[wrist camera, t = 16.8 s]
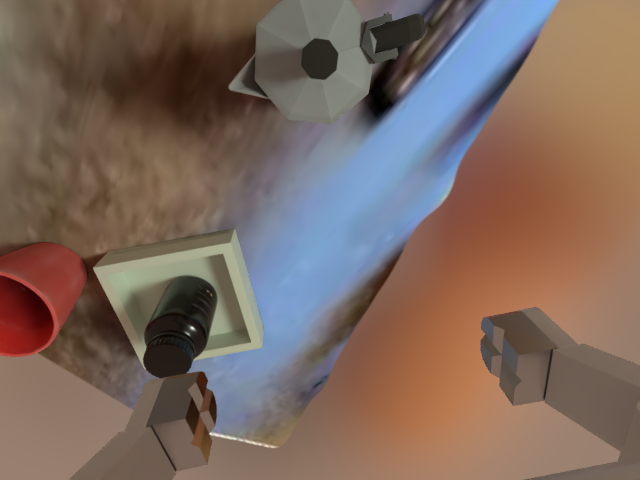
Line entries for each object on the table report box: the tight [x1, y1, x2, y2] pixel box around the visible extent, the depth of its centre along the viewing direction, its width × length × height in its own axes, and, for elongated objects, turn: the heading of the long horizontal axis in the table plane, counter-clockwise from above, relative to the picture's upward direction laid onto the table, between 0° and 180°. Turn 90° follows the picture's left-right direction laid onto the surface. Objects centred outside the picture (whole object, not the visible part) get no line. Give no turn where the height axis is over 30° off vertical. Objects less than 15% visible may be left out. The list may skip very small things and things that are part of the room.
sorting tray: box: [93, 229, 264, 369], centre depth 47 cm, size 16×16×4 cm
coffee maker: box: [228, 0, 425, 124], centre depth 30 cm, size 15×9×18 cm, turn 106°
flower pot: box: [0, 242, 87, 357], centre depth 41 cm, size 11×11×10 cm
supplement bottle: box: [143, 276, 218, 378], centre depth 42 cm, size 7×7×12 cm
